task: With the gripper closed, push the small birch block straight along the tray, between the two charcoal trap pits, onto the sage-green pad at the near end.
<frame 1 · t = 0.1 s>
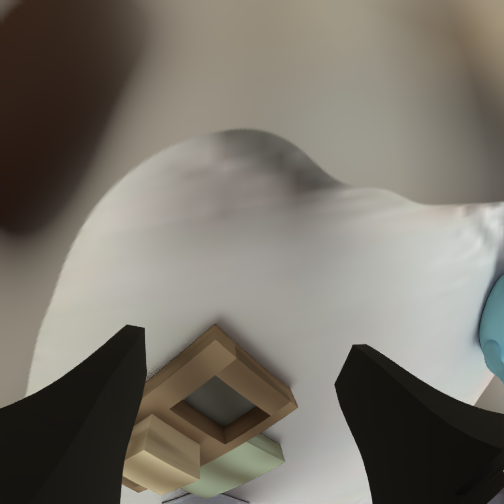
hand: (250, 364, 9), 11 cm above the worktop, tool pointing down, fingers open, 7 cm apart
tray: (216, 455, 22), on the worktop
birch block: (158, 441, 18), point 2 cm above the worktop, touching tray
teapot: (493, 314, 25), on the worktop
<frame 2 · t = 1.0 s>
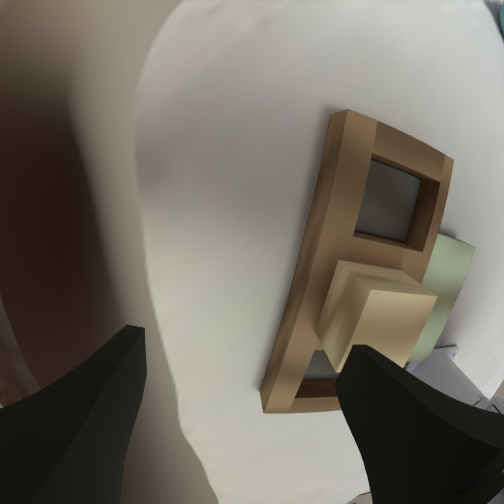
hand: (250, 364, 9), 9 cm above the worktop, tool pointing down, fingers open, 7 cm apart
charger: (375, 492, 42), on the worktop
tray: (412, 292, 20), on the worktop
birch block: (359, 301, 17), point 2 cm above the worktop, touching tray
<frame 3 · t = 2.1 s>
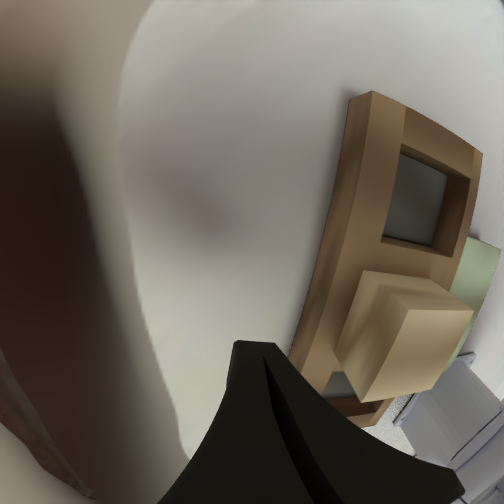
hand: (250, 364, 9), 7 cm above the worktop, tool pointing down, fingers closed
tray: (435, 300, 17), on the worktop
birch block: (384, 316, 14), point 2 cm above the worktop, touching tray
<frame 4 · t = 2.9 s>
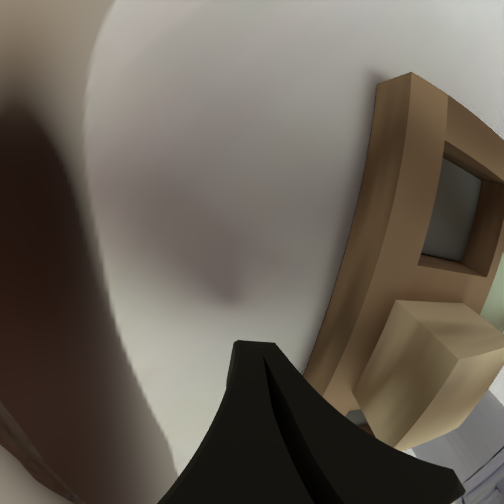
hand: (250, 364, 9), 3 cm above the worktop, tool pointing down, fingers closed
tray: (459, 320, 14), on the worktop
birch block: (413, 348, 11), point 2 cm above the worktop, touching tray
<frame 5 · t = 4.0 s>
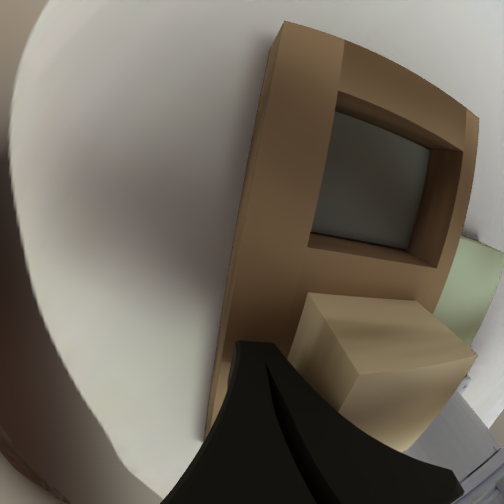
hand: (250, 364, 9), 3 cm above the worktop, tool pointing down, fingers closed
tray: (416, 322, 13), on the worktop
birch block: (348, 352, 10), point 3 cm above the worktop, touching gripper
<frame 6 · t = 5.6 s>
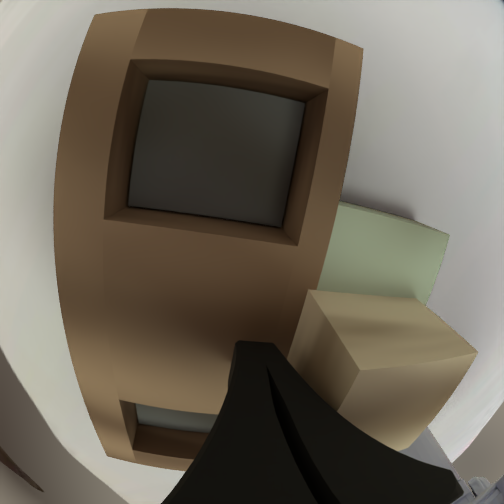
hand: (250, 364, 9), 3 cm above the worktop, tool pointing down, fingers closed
tray: (323, 320, 12), on the worktop
birch block: (348, 350, 10), point 2 cm above the worktop, touching gripper, tray
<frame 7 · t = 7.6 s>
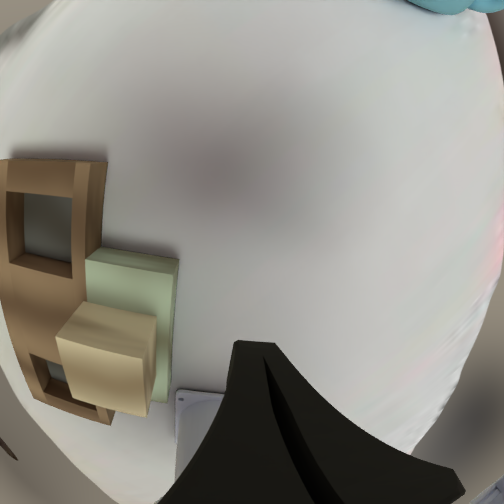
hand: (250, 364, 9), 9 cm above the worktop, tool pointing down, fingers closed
tray: (127, 322, 18), on the worktop
birch block: (120, 340, 16), point 2 cm above the worktop, touching tray
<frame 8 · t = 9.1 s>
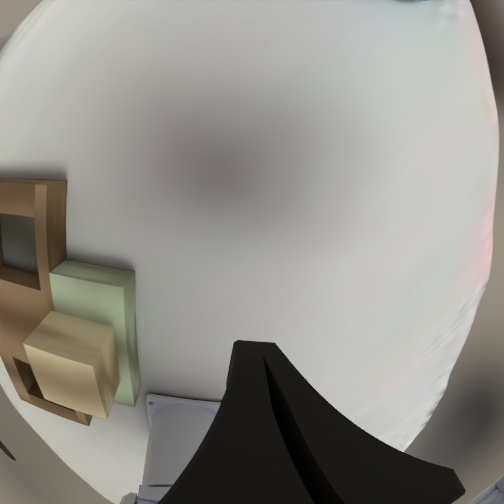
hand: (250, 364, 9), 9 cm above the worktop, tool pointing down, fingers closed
tray: (95, 329, 18), on the worktop
birch block: (85, 347, 16), point 2 cm above the worktop, touching tray
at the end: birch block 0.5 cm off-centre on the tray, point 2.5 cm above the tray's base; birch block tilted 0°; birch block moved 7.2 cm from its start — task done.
